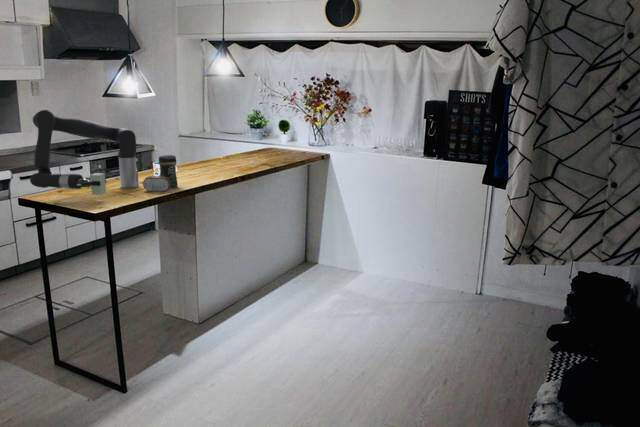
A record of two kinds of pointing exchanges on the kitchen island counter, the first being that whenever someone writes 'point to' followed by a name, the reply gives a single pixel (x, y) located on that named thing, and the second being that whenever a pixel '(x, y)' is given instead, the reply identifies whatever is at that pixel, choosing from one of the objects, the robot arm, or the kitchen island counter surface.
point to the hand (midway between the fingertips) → (102, 182)
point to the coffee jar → (168, 168)
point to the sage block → (102, 188)
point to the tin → (157, 183)
